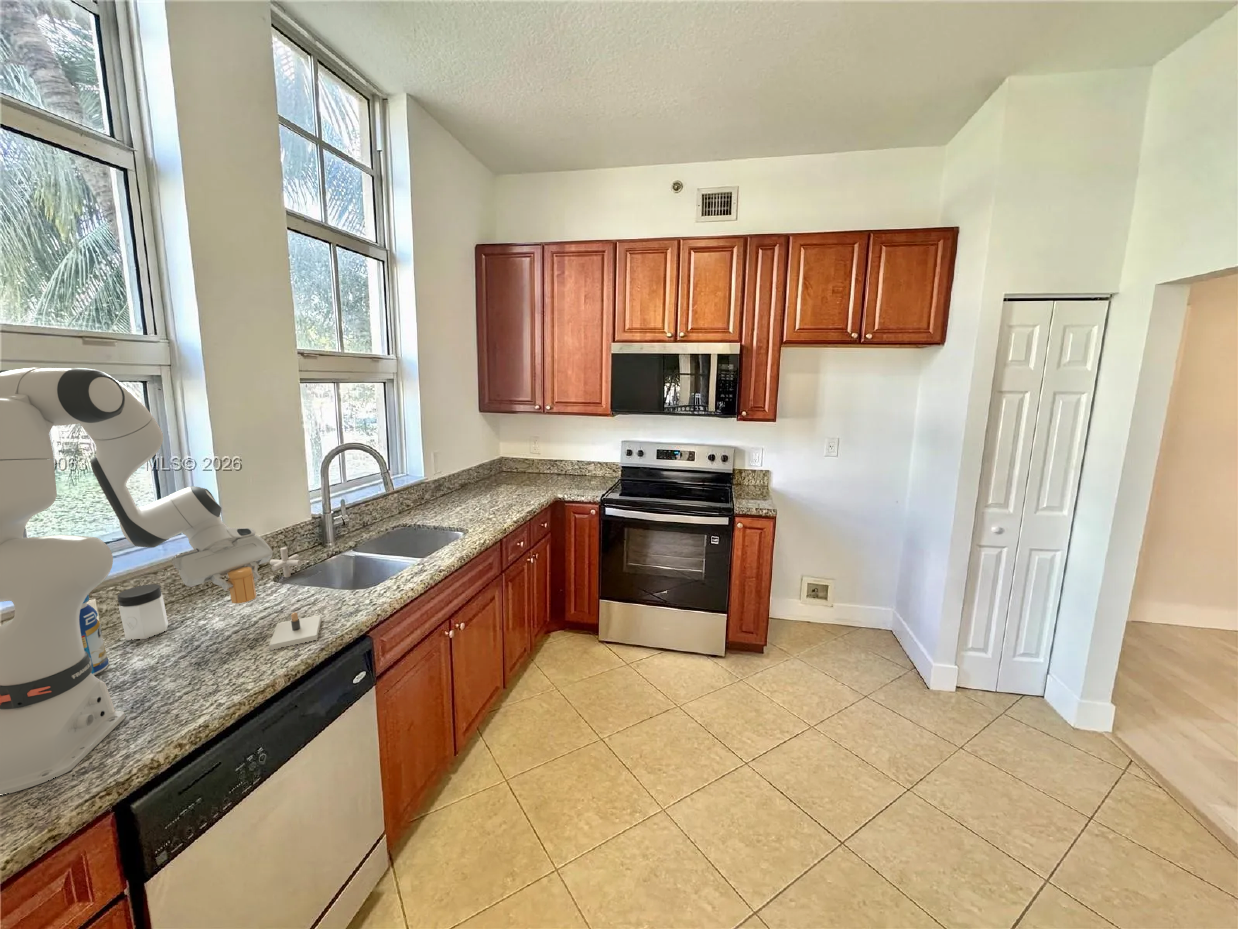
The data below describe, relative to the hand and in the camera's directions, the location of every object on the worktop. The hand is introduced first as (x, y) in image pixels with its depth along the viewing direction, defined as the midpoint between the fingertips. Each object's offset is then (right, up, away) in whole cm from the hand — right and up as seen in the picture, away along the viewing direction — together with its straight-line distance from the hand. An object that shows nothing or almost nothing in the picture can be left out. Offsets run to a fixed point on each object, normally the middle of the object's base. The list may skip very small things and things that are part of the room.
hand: (243, 583), depth 129 cm
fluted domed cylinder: (0, -4, +1) cm, 4 cm away
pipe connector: (-13, -7, +37) cm, 39 cm away
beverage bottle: (-24, -17, -16) cm, 34 cm away
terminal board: (+15, -13, -1) cm, 20 cm away
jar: (-26, -14, +1) cm, 30 cm away
